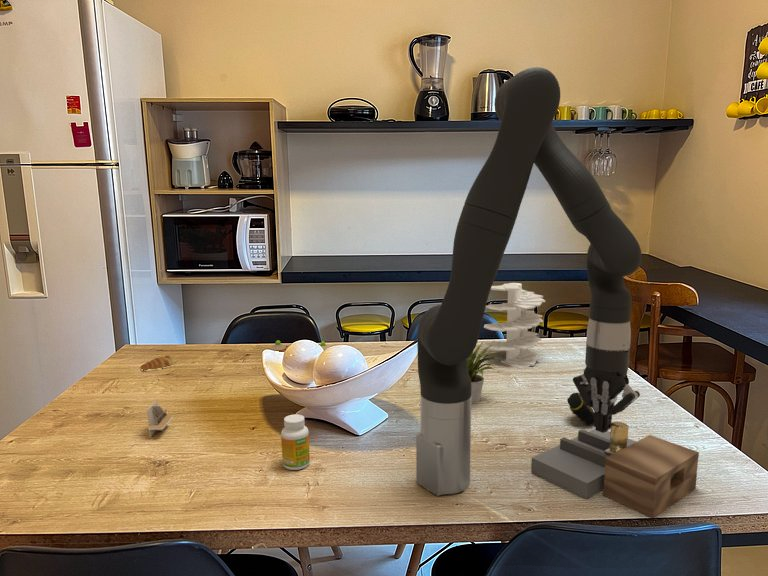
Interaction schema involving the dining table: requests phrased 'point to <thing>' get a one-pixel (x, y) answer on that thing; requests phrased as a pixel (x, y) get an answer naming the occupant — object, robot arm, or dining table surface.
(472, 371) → the house plant
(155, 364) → the pastry
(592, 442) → the grey grooved block
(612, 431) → the bolt
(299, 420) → the supplement bottle
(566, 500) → the dining table surface
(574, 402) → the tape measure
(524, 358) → the spiral staircase
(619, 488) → the block
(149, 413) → the architectural model
